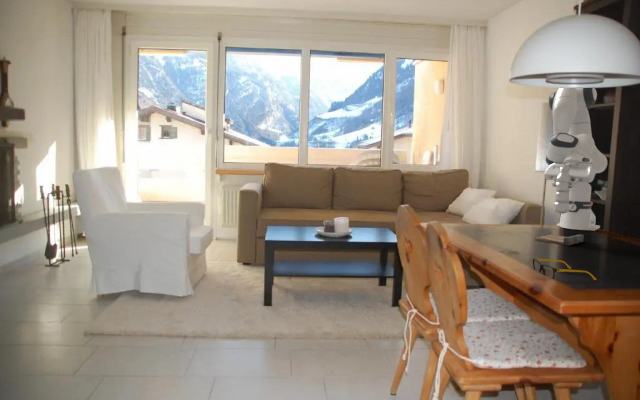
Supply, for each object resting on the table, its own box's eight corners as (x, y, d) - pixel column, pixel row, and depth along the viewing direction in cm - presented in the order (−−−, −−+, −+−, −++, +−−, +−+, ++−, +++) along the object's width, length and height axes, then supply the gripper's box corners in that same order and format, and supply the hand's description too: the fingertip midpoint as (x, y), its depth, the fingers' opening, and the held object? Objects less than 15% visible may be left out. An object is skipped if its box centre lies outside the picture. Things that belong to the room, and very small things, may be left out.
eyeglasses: (529, 269, 170) (530, 257, 169) (571, 270, 171) (572, 258, 170) (551, 281, 156) (552, 268, 155) (596, 281, 157) (598, 268, 156)
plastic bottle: (553, 213, 220) (557, 167, 218) (552, 212, 226) (555, 166, 224) (570, 215, 218) (574, 167, 216) (568, 213, 224) (572, 167, 222)
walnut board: (551, 236, 234) (551, 230, 234) (583, 241, 223) (583, 234, 223) (534, 240, 223) (535, 233, 223) (567, 245, 213) (567, 238, 213)
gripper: (548, 158, 232) (536, 179, 227) (596, 159, 217) (584, 183, 211) (552, 167, 235) (541, 189, 230) (600, 170, 220) (588, 193, 215)
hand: (562, 186), depth 220 cm, fingers closed on plastic bottle, 6 cm apart
